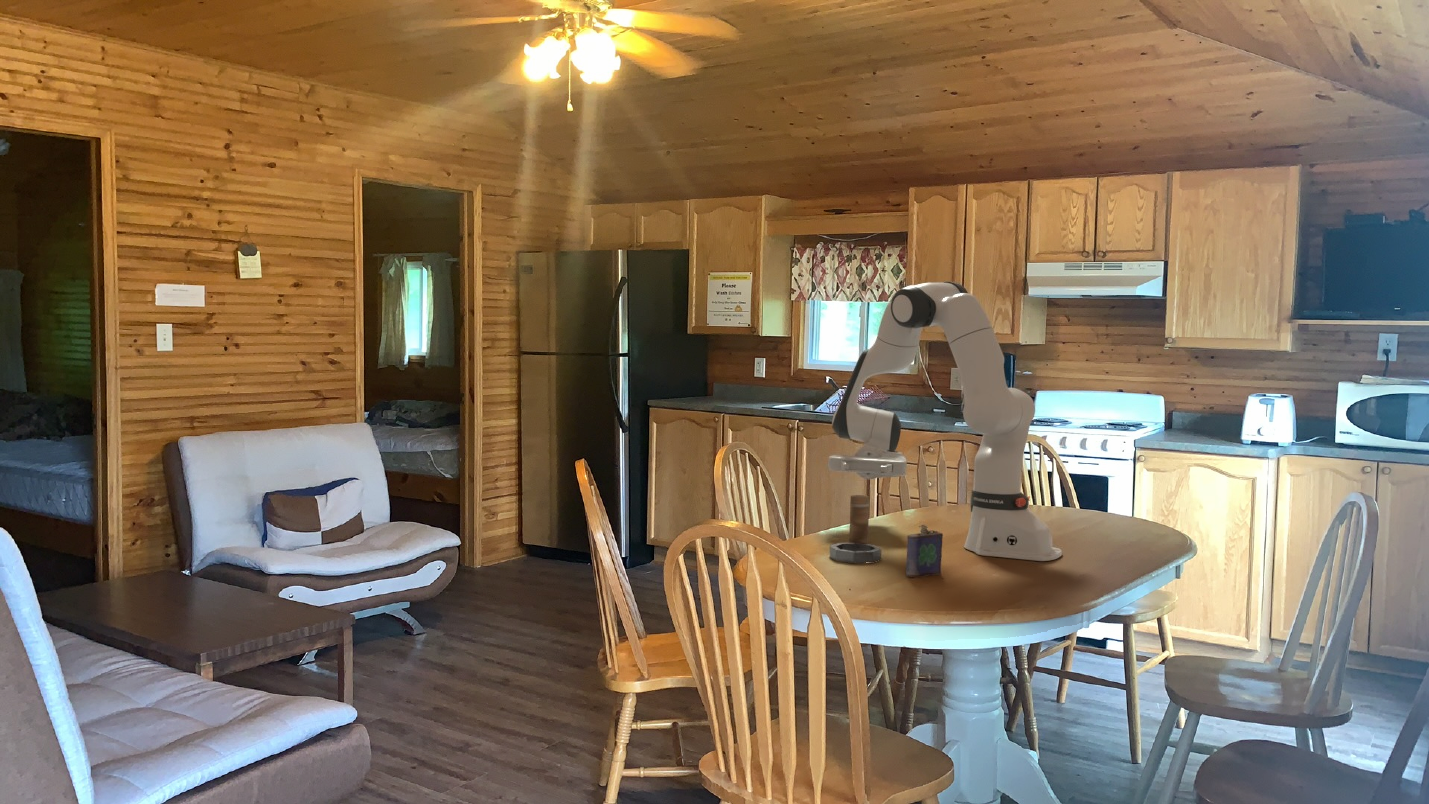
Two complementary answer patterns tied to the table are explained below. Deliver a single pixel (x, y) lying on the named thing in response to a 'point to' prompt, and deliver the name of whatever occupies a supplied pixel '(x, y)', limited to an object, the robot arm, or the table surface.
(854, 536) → the brown wooden cylinder
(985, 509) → the robot arm
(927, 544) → the flask
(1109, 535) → the table surface
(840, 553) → the ring
